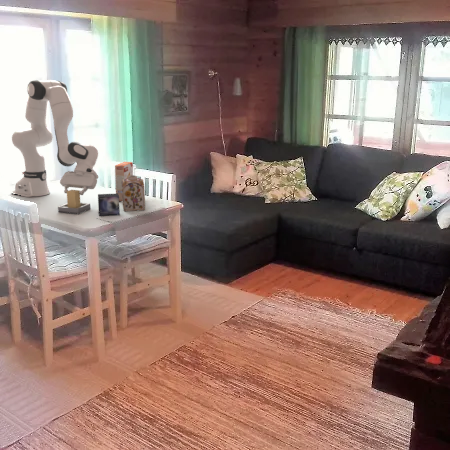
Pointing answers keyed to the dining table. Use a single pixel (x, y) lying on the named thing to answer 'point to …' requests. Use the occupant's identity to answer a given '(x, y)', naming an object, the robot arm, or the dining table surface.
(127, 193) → the decorative jar
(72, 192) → the tan rectangular block
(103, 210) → the small box
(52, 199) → the dining table surface
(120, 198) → the cracker box
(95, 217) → the dining table surface
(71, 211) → the tray
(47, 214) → the dining table surface
